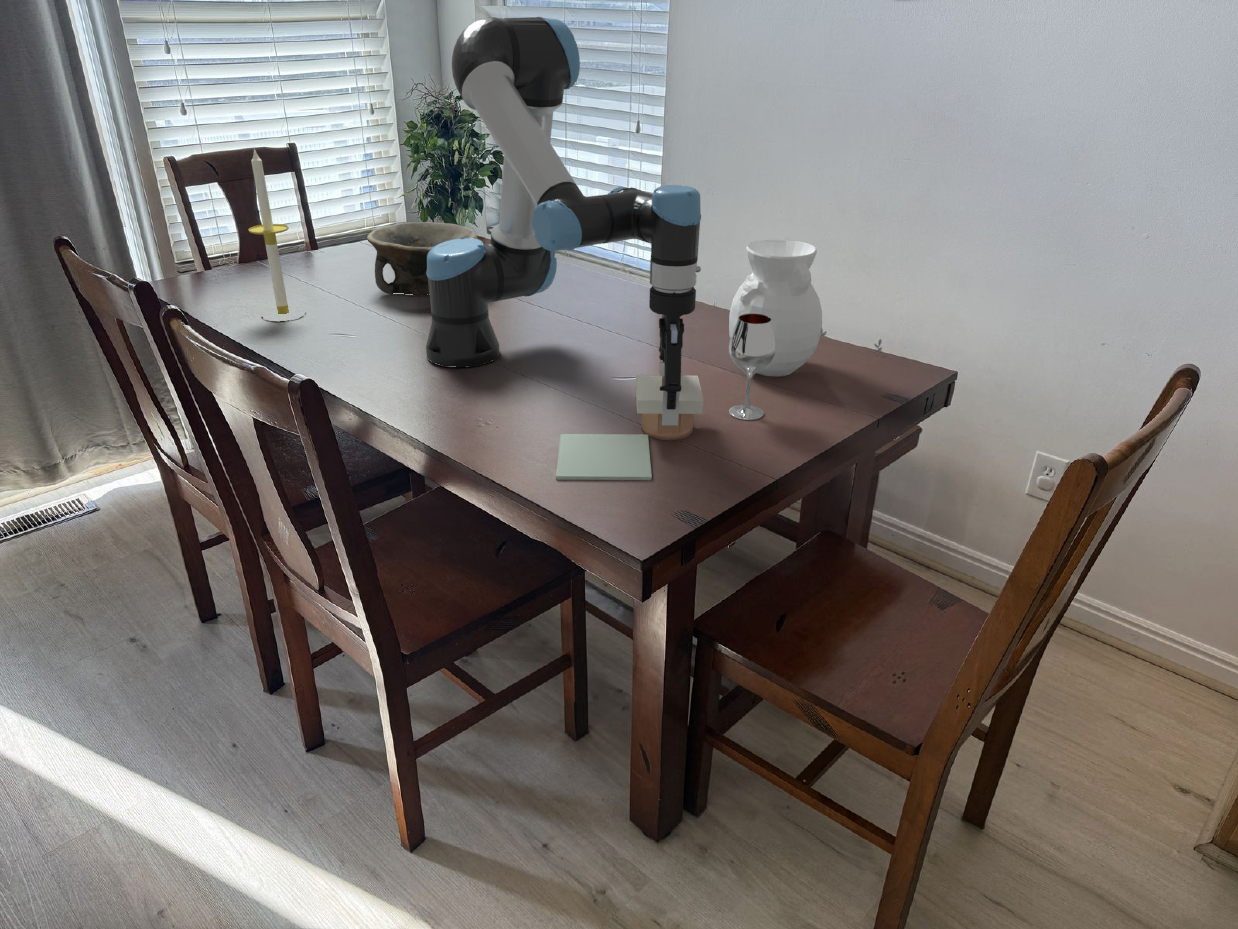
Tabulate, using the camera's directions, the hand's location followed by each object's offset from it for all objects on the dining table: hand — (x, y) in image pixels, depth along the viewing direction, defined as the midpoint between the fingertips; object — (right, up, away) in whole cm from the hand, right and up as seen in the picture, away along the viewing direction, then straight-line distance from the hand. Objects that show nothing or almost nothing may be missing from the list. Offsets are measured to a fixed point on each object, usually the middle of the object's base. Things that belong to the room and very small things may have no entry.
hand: (667, 410), depth 150 cm
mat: (-11, -8, -8) cm, 16 cm away
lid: (0, +2, -1) cm, 2 cm away
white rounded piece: (+23, +10, +28) cm, 37 cm away
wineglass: (+15, 0, +8) cm, 17 cm away
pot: (0, -3, +2) cm, 4 cm away
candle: (-88, +26, +54) cm, 106 cm away
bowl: (-58, +35, +72) cm, 99 cm away
